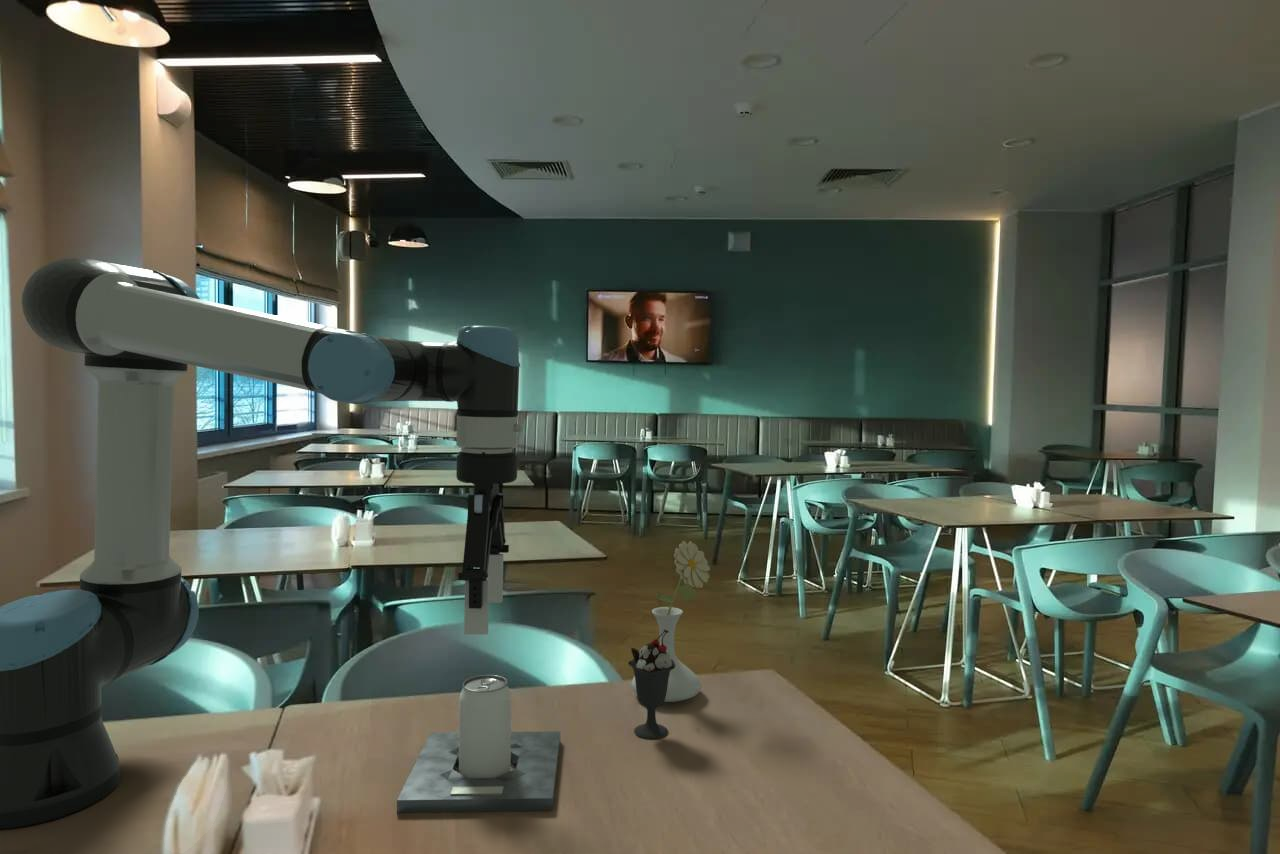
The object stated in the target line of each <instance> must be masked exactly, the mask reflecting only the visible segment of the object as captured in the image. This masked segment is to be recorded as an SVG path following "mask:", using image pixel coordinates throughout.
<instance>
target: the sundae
mask: <svg viewBox="0 0 1280 854" xmlns="http://www.w3.org/2000/svg"><path fill="white" fill-rule="evenodd" d="M664 632H666V633H668V631H667V630H664ZM664 632H663V633H664ZM663 633H662V634H663ZM666 633H665V634H666ZM662 634H661V635H662ZM665 634H664V635H663V637H664V636H665ZM661 635H660V634H659V636H658V637H657V638H654V639H652V640H651V642H650V643H645V645H643V646H642V647H641V648H640V650H639V649H637V648H635V647H631V648H630V649H631V653H632V656H633V658H632V659H631V660H630V661H628V664H627V665H629V667H631V668H632V669H633V675H634V676H635V682H636V691H637V693H636V695H637V696H636V697H637V700H638V701H639V703H640V704H641V705H642V706H643V707H644V708H646V710H647V711H646V715H647V716H646V721H645V723H643V724H640V725H637V726H635V728H634V730H633V732H634V734H635V735H636V736H638V737H639V738H641V739H645V740H658V739H663V738H664V737H666V736H667V735H668V733H669V729H668V728H667V727H666V726H664V725H662V724H659V723H657V718H656V710H657V709H658V708H659V707H661V706H662V705H663V703H665V702H664V701H665V698H666V693H667V687H668V679H669V674H670V671H671V670H672V669H674V668H675V663H674V661H673V660H672V659H671V658H670V655H669V654H667V653H666V649H667V647H666V646H665V645H663V637H662V645H660V636H661Z"/></svg>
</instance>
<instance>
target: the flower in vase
mask: <svg viewBox="0 0 1280 854" xmlns="http://www.w3.org/2000/svg"><path fill="white" fill-rule="evenodd" d="M678 546H679V547H676V548H675V550H674V554H673V557H674V559H675V560H674V565H675V566H676V568H675V571H676V573H677V574H678V575H679V577H680V578H679V580H678V583H677V587H676V591H675V592H674V594H673V597H671V596H668V595H665V594H663V593H661V592H660V591H657V594H656V598H657V599H658V600H660V601H663V602H667V603H670V605H669V606H661V607H656V608H653V609H652V610H651V612H652V614H653V615H654V618H655V619H656V622H657V624H658V630H659V636H660V635H661V634H662V633H663V632H664V630H667V631H668V633H666V632H664V633H663V634H662V635H661V636H660V638H659V646H660V645H662V637H663V635H664V634H665V633H666V634H665V636H664V637H663V645H665V646H666V647H667V649H666V653H667V654H669V655H670V658H671V659H672V660H673V661H674V663H675V668H674V669H672V670H671V671H670V674H669V679H668V687H667V693H666V698H665V701H664V702H663V703H675V702H681V701H686V700H688V699H691V698H693V697H695V696H696V695H698V694H699V693H700V691H701V690H702V683H701V680H700V678H699V676H697V674H695V673H694V672H693V671H692V670H691V669H690V668H689V667H688V666H686V665H685V664H684V663H682V661H680V659H678V657H677V655H676V653H675V645H674V644H675V634H676V633H675V631H676V627H677V623H678V621H679V619H680V617H681V616H682V615H683V613H684V611H683V610H682V609H680V608H678V607H673V605H674V602H675V600H676V597H677V595H679V596H680V597H681V598H682V599H683V600H684V601H691V600H693V599H695V598H696V597H697V596H698V592H697V591H696V589H694V587H695V588H697V589H699V588H700V589H702V588H703V586H704V583H708V581H709V578H710V574H709V573H708V572H709V571H710V570H711V566H710V565H709V564H708V563H709V562H708V560H707V559H706V557H705V552H704V551H702V550H699V548H698V546H697V544H695V543H693V542H692V541H689V542H688V543H687V542H686V541H685V540H682V542H681V543H679V544H678ZM682 580H683V583H684V584H683V585H682V586H681V584H682ZM630 685H631V688H632V690H633V691H634V692H635V693H636V694H637V691H636V682H635V675H634V676H633V677H632V681H631V683H630Z"/></svg>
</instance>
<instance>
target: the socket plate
mask: <svg viewBox="0 0 1280 854" xmlns="http://www.w3.org/2000/svg"><path fill="white" fill-rule="evenodd" d="M560 746H561V731H558V730H557V731H555V730H551V731H547V730H546V731H541V730H540V731H511V764H512V765H514V766H515V767H516V768H515V769H512V770H510V772H507V773H505V774H503V775H500V776H498V777H496V778H467V777H465V776H463V775H462V774H460V773H459V771H457V770H458V768H459V731H450V732H447V731H446V732H439V731H438V732H436V731H435V732H430V733H429V735H428V737H427V739H426V741H425V742H424V745H423V747H422V749H421V751H420V753H419V755H418V756H417V759H416V761H415V763H414V764H413V767H412V769H411V772H410V773H409V775H408V777H407V778H406V781H405V783H404V785H403V787H402V789H401V791H400V793H399V795H398V797H397V799H396V813H397V814H399V813H400V814H403V813H404V814H405V813H406V814H407V813H409V814H410V813H467V812H471V813H475V812H477V813H478V812H481V813H482V812H483V813H484V812H485V813H486V812H541V811H542V812H545V811H547V812H549V811H550V812H551V811H553V808H554V807H553V806H554V800H555V791H556V783H557V774H558V773H557V772H558V765H559V764H558V763H559V756H560V748H561V747H560Z"/></svg>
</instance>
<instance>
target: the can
mask: <svg viewBox="0 0 1280 854" xmlns="http://www.w3.org/2000/svg"><path fill="white" fill-rule="evenodd" d="M458 704H459V708H458V710H459V711H458V712H459V713H458V715H459V717H458V719H459V720H458V726H459V727H458V732H459V769H458V770H459V771H458V773H460V774H462V775H463V776H465V777H467V778H496V777H498V776H500V775H503V774H505V773H507V772H510V771H511V764H512V763H511V732H512V694H511V690H510V688H509V686H508V679H507V678H505V677H504V676H500V675H497V674H496V675H494V674H482V675H475V676H472V677H470V678H467V679H465V680H464V682H463V683H462V690H461V692H460V694H459V703H458Z"/></svg>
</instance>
